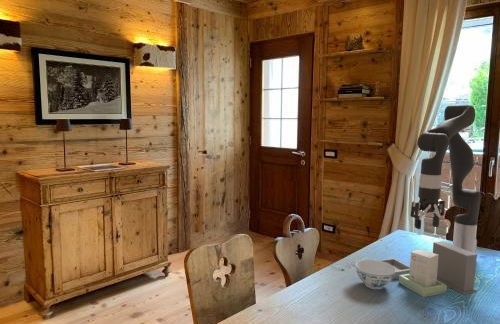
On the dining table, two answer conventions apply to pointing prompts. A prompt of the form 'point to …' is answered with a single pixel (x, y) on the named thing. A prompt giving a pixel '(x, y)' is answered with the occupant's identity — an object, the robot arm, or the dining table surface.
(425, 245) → the dining table surface
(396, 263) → the grey tray
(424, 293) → the sage tray
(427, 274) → the small box
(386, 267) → the chinaware
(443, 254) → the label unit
